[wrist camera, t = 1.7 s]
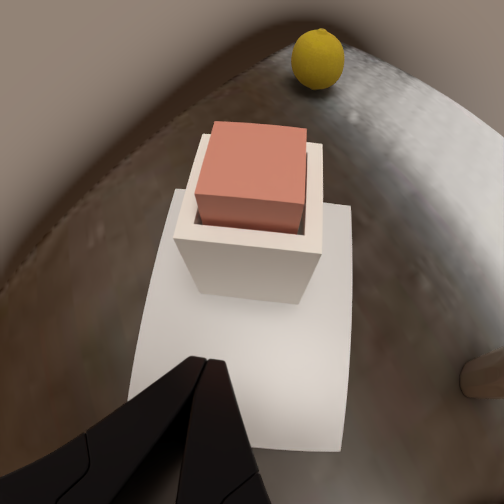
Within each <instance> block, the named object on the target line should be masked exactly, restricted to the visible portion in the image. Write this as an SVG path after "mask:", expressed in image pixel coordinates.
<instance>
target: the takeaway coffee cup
mask: <svg viewBox="0 0 504 504" xmlns="http://www.w3.org/2000/svg"><path fill="white" fill-rule="evenodd" d="M460 388H461V390H462V391H463V393H464V395H465V396H466V397H470V398H474V399H504V346H502V347H500V348H497V349H495V350H493V351H490V352H488V353H486V354H483V355H481V356H479V357H476V358H474V359H472V360H471V361H469V362H467V363H465V365H464V367H463V369H462V372H461V374H460Z"/></svg>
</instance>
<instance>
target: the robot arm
mask: <svg viewBox="0 0 504 504" xmlns="http://www.w3.org/2000/svg"><path fill="white" fill-rule="evenodd" d="M175 500H176V503H175ZM174 503H175V504H271V502H270V499H269V497H268V494H267V492H266V489H265V486H264V484H263V481H262V478H261V475H260V473H259V469H258V466H257V463H256V460H255V457H254V454H253V451H252V448H251V445H250V442H249V439H248V435H247V432H246V429H245V426H244V423H243V419H242V416H241V413H240V409H239V406H238V403H237V399H236V396H235V393H234V389H233V386H232V382H231V379H230V375H229V372H228V368H227V365H226V362H225V361H224V360H218V359H208V360H207V359H206V358H204V357H198V356H189V357H187V358H186V359H185V360H183V361H182V362H181V363H179V364H178V365H177V366H175V367H174V368H173V369H171V370H170V371H169V372H167V373H166V374H165V375H163V376H162V377H161V378H159V379H158V380H156V381H155V382H154V383H152V384H151V385H150V386H148V387H147V388H146V389H144V390H143V391H141V392H140V393H139V394H137V395H136V396H135V397H133V398H132V399H130V400H129V401H128V402H126V403H125V404H123V405H122V406H121V407H119V408H118V409H116V410H115V411H114V412H112V413H111V414H109V415H108V416H106V417H105V418H104V419H102V420H101V421H99V422H98V423H96V424H95V425H94V426H92V427H91V428H89V429H88V430H86V433H82V434H80V435H79V436H77V437H76V438H74V439H73V440H71V441H70V442H68V443H67V444H65V445H63V446H62V447H60V448H59V449H57V450H55V451H54V452H52V453H50V454H48V455H46V456H44V457H43V458H41V459H39V460H37V461H35V462H33V463H31V464H29V465H27V466H25V467H22V468H20V469H18V470H16V471H14V472H11V473H9V474H7V475H5V476H2V477H0V504H174Z"/></svg>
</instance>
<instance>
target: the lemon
mask: <svg viewBox="0 0 504 504" xmlns="http://www.w3.org/2000/svg"><path fill="white" fill-rule="evenodd" d="M291 64H292V70H293V72H294V75H295V77H296V78H297V79H298V81H299V82H300V83H302V84H303V85H304V86H306V87H308V88H311V89H312V90H316V89H325V88H328V87H330V86H332V85H333V84H335V83H336V81H337V80H338V79H339V78H340V76H341V74H342V71H343V67H344V51H343V47H342V45H341V43H340V42H339V40H338V39H337V38H336V37H335V36H333V35H332V34H330V33H328V32H326V30H325V29H319V30H313V31H309V32H307V33H305V34H304V35H302V36H301V37H300V38H299V39H298V40H297V42H296V44H295V46H294V48H293V52H292V58H291Z"/></svg>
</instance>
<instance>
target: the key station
mask: <svg viewBox="0 0 504 504" xmlns="http://www.w3.org/2000/svg"><path fill="white" fill-rule="evenodd" d="M210 136H211V134H203V135H202V138H201V141H200V144H199V147H198V151H197V154H196V157H195V160H194V164H193V167H192V170H191V174H190V177H189V181H188V184H187V187H186V189H175V192H174V196H173V199H172V202H171V206H170V209H169V213H168V216H167V220H166V223H165V227H164V231H163V234H162V238H161V242H160V246H159V249H158V253H157V257H156V261H155V265H154V269H153V273H152V277H151V282H150V286H149V290H148V294H147V299H146V303H145V308H144V313H143V317H142V322H141V327H140V332H139V337H138V342H137V347H136V353H135V358H134V364H133V369H132V375H131V381H130V388H129V394H128V401H129V400H130V399H132V398H133V397H135V396H136V395H137V394H139V393H140V392H141V391H143V390H144V389H146V388H147V387H148V386H150V385H151V384H152V383H154V382H155V381H156V380H158V379H159V378H161V377H162V376H163V375H165V374H166V373H167V372H169V371H170V370H171V369H173V368H174V367H175V366H177V365H178V364H179V363H181V362H182V361H183V360H185V359H186V358H187V357H189V356H198V357H204V358H206V359H207V360H208V359H218V360H224V361H225V362H226V365H227V368H228V372H229V375H230V379H231V382H232V386H233V389H234V393H235V396H236V399H237V403H238V406H239V409H240V413H241V416H242V419H243V423H244V426H245V429H246V432H247V435H248V439H249V442H250V445H251V447H255V448H266V449H278V450H293V451H322V452H340V450H341V443H342V435H343V427H344V418H345V409H346V399H347V387H348V375H349V360H350V343H351V319H352V229H351V206H345V205H338V204H330V203H323V156H322V144H316V143H309V142H306V174H305V201H304V208H303V212H302V216H301V220H300V224H299V228H298V232H297V235H295V234H286V233H277V232H267V231H258V230H248V229H238V228H228V227H218V226H208V225H203V224H202V220H201V216H200V213H199V209H198V206H197V202H196V198H195V195H194V193H195V189H196V185H197V182H198V178H199V174H200V171H201V167H202V164H203V160H204V156H205V153H206V150H207V146H208V143H209V139H210ZM128 401H127V402H128Z"/></svg>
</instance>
